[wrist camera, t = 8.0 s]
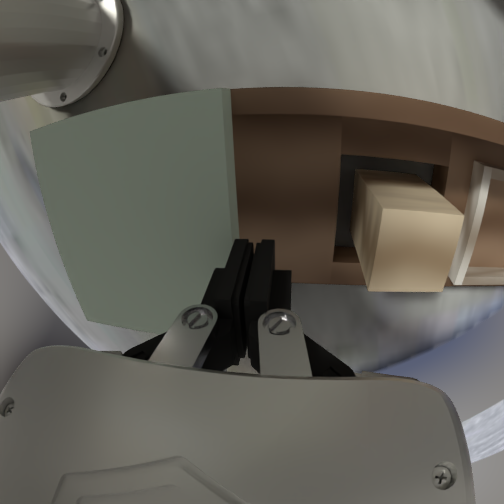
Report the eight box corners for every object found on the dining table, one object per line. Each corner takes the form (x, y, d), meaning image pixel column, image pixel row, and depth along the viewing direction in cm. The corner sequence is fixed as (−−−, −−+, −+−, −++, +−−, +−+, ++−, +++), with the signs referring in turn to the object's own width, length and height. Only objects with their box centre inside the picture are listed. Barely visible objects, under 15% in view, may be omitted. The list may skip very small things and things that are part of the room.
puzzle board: (148, 103, 20) (79, 116, 12) (537, 139, 14) (596, 167, 7) (171, 259, 26) (130, 319, 19) (505, 271, 21) (543, 323, 14)
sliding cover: (47, 126, 13) (29, 131, 11) (230, 88, 11) (221, 87, 10) (97, 307, 19) (87, 320, 18) (245, 326, 17) (241, 344, 16)
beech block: (355, 168, 20) (382, 208, 13) (416, 174, 19) (464, 215, 12) (349, 229, 22) (368, 291, 16) (406, 232, 22) (442, 291, 15)
